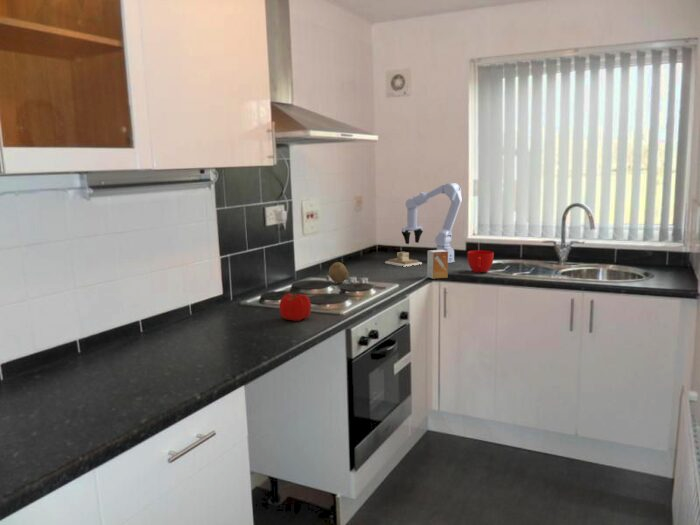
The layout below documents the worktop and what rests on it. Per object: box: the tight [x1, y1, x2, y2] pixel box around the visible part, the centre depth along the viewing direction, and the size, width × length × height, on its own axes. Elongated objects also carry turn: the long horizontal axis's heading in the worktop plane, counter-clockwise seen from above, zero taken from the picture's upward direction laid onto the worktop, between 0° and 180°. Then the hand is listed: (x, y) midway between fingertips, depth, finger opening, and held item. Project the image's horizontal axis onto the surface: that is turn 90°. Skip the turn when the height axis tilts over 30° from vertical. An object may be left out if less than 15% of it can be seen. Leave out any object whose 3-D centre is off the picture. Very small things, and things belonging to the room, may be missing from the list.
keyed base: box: [384, 257, 423, 268], centre depth 319 cm, size 16×13×2 cm
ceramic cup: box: [467, 249, 495, 274], centre depth 289 cm, size 13×17×10 cm
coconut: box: [328, 261, 350, 284], centre depth 268 cm, size 9×9×10 cm
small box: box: [426, 249, 449, 280], centre depth 278 cm, size 8×6×13 cm
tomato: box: [278, 293, 312, 322], centre depth 206 cm, size 11×12×9 cm
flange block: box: [392, 251, 413, 262], centre depth 319 cm, size 10×6×5 cm, turn 36°
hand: (412, 243), depth 332 cm, fingers open, 7 cm apart
